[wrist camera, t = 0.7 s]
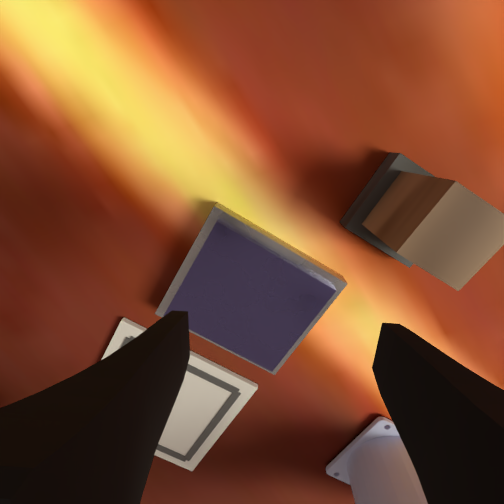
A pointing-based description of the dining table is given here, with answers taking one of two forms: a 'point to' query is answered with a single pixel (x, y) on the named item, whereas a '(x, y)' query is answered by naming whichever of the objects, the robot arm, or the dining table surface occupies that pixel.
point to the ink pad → (250, 290)
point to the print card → (194, 403)
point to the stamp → (426, 221)
